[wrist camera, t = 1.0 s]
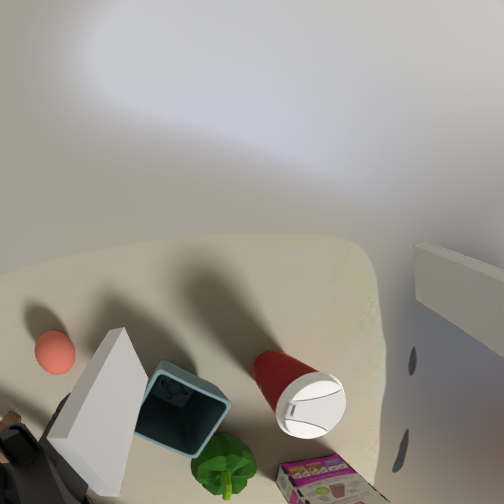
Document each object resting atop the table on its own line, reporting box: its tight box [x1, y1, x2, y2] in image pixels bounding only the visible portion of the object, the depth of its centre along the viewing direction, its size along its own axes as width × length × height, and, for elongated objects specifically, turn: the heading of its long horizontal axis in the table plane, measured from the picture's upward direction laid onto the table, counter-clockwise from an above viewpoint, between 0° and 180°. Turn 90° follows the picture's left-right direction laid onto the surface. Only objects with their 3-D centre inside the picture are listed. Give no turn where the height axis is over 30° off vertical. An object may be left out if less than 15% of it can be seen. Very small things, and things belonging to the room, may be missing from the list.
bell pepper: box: [191, 432, 257, 500], centre depth 32 cm, size 8×8×10 cm
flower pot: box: [134, 360, 231, 458], centre depth 32 cm, size 9×9×9 cm
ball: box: [35, 331, 75, 375], centre depth 30 cm, size 6×6×6 cm
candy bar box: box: [276, 454, 392, 504], centre depth 33 cm, size 11×5×16 cm, turn 84°
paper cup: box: [252, 350, 346, 439], centre depth 33 cm, size 8×8×14 cm
